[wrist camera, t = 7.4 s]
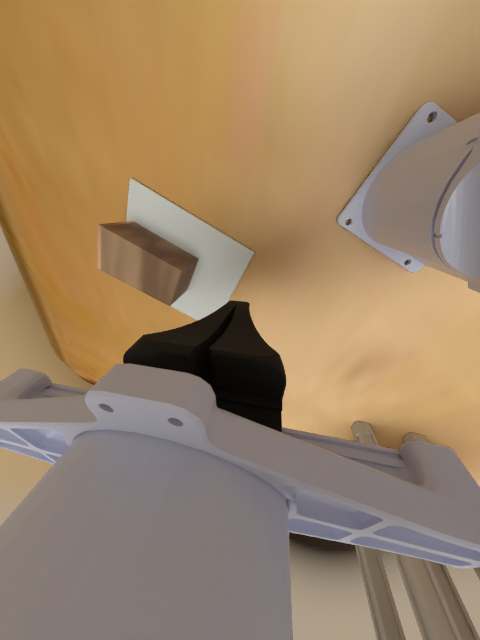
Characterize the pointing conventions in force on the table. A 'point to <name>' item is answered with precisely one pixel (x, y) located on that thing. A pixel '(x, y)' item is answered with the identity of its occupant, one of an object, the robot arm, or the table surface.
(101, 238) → the walnut block
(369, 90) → the table surface
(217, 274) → the grey mat
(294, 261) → the table surface
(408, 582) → the stool
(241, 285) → the table surface
